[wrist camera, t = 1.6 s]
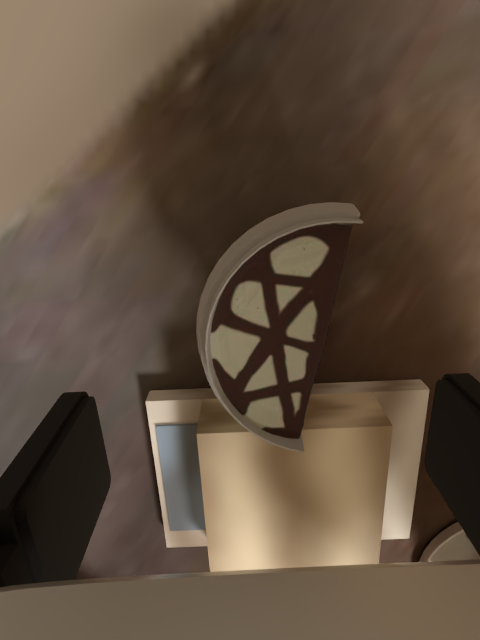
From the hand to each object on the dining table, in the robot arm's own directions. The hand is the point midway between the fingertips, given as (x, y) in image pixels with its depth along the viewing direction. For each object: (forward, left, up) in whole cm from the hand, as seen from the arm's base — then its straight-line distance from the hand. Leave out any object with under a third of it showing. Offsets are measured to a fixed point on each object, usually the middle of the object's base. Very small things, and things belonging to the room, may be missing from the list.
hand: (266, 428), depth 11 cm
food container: (0, 0, -17) cm, 17 cm away
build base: (-2, +15, -17) cm, 23 cm away
